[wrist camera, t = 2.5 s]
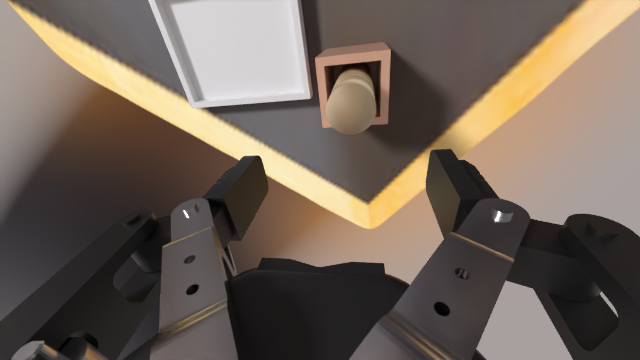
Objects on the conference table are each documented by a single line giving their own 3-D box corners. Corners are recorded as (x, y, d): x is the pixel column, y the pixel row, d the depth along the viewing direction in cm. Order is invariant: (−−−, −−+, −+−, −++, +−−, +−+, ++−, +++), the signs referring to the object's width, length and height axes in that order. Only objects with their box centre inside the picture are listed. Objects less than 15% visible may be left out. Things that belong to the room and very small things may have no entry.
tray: (296, -37, 26) (291, -41, 25) (313, 94, 34) (310, 98, 32) (155, -10, 30) (143, -12, 28) (199, 104, 37) (191, 108, 35)
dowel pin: (371, 58, 29) (376, 82, 18) (371, 91, 31) (375, 133, 20) (338, 61, 30) (323, 87, 19) (340, 94, 32) (328, 135, 21)
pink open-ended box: (383, 41, 29) (390, 49, 22) (382, 100, 33) (387, 123, 25) (326, 48, 30) (314, 58, 23) (331, 104, 34) (322, 127, 27)
